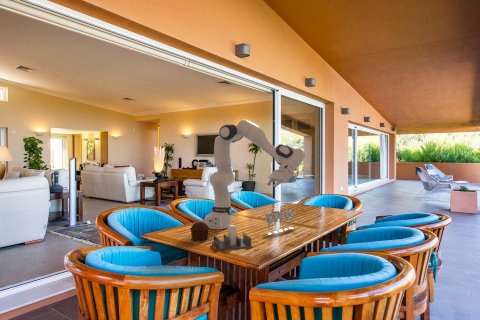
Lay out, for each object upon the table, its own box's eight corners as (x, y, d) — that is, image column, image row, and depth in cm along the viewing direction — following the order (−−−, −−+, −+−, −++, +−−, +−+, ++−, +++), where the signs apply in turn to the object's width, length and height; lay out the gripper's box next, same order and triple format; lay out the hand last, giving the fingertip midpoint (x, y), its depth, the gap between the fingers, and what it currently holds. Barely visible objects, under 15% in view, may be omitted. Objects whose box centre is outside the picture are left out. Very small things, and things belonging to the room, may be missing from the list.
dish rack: (218, 250, 162) (218, 241, 162) (212, 243, 176) (212, 234, 176) (252, 247, 168) (252, 238, 168) (244, 240, 181) (244, 232, 181)
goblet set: (269, 234, 196) (270, 213, 196) (263, 233, 200) (263, 212, 200) (296, 228, 215) (297, 208, 215) (290, 226, 219) (290, 207, 219)
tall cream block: (230, 245, 169) (230, 226, 169) (228, 242, 174) (228, 224, 174) (235, 244, 170) (236, 226, 170) (233, 242, 175) (233, 224, 175)
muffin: (191, 237, 190) (191, 220, 190) (209, 236, 191) (209, 220, 191) (189, 242, 178) (189, 224, 178) (208, 242, 179) (208, 224, 179)
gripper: (275, 165, 203) (261, 180, 200) (289, 166, 183) (274, 183, 180) (281, 172, 204) (267, 187, 201) (296, 174, 184) (281, 191, 182)
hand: (271, 185), depth 190 cm, fingers open, 8 cm apart
